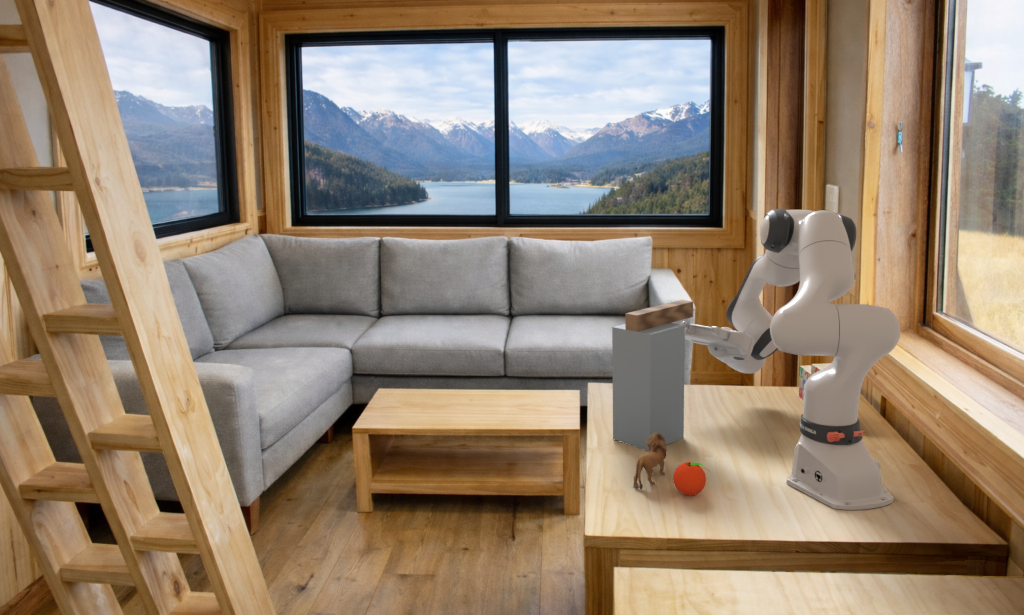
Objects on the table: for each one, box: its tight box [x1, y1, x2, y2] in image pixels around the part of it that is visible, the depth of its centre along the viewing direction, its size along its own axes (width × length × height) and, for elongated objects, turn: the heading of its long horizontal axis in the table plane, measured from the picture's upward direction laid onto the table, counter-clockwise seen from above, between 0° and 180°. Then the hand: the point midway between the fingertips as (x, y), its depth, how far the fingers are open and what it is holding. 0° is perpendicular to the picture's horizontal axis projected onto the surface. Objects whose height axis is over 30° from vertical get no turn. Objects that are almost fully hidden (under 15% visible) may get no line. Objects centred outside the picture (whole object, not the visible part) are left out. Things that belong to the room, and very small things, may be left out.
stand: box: [611, 322, 686, 452], centre depth 210 cm, size 13×12×29 cm
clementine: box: [672, 461, 711, 496], centre depth 179 cm, size 8×7×7 cm
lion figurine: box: [633, 433, 668, 491], centre depth 187 cm, size 15×5×9 cm, turn 157°
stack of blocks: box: [798, 362, 832, 400], centre depth 231 cm, size 21×6×12 cm, turn 0°
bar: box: [624, 299, 694, 332], centre depth 209 cm, size 22×4×4 cm, turn 131°
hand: (698, 326), depth 220 cm, fingers open, 8 cm apart
